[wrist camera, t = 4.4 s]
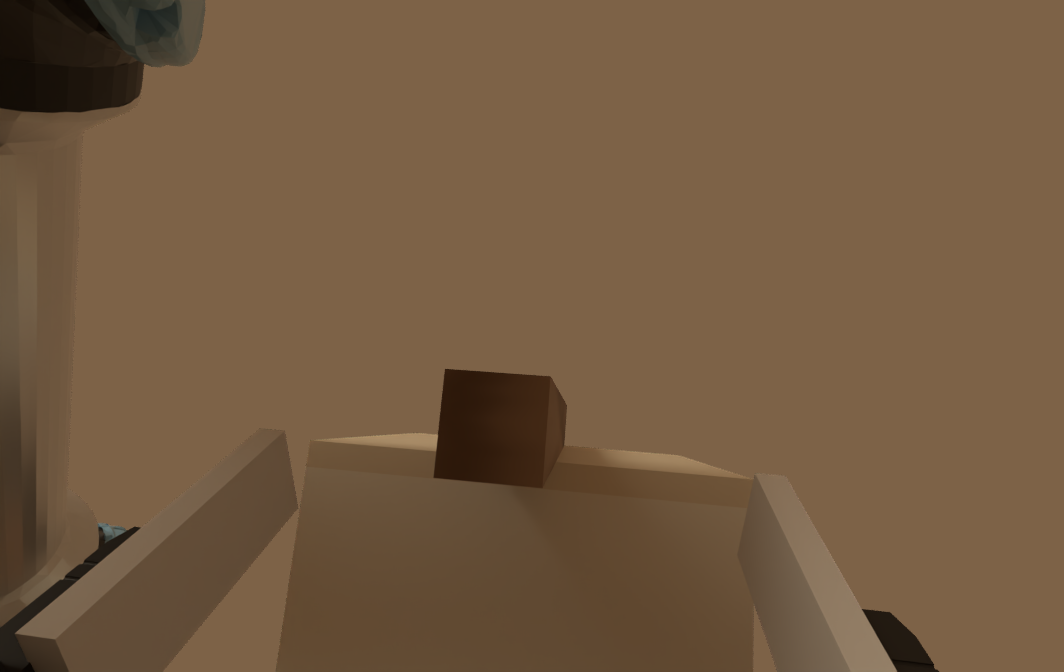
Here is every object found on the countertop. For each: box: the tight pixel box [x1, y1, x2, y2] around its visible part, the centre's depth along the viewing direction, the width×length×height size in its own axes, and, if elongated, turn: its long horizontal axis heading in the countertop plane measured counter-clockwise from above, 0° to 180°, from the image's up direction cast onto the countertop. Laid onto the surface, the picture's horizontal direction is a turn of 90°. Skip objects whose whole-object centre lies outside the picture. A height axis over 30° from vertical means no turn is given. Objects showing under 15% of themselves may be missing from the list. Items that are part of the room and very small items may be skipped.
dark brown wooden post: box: [433, 369, 567, 488], centre depth 26 cm, size 3×24×3 cm, turn 175°
